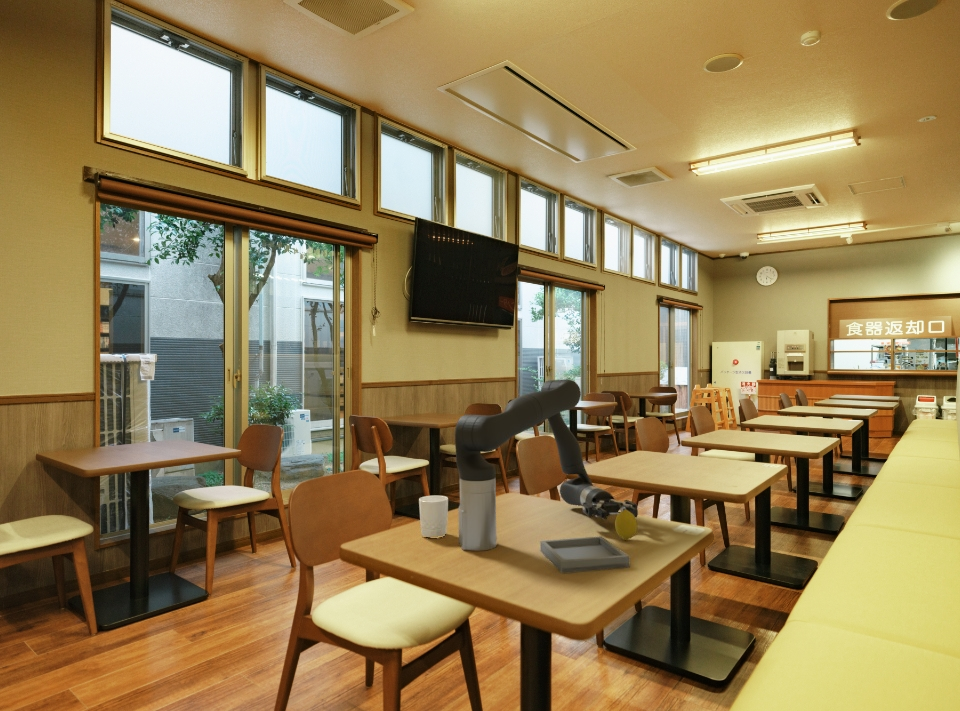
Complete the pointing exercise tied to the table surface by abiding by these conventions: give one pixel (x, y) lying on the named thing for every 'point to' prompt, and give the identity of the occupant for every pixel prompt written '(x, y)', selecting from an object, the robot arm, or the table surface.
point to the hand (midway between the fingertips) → (620, 514)
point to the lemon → (625, 524)
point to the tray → (584, 554)
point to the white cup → (433, 515)
